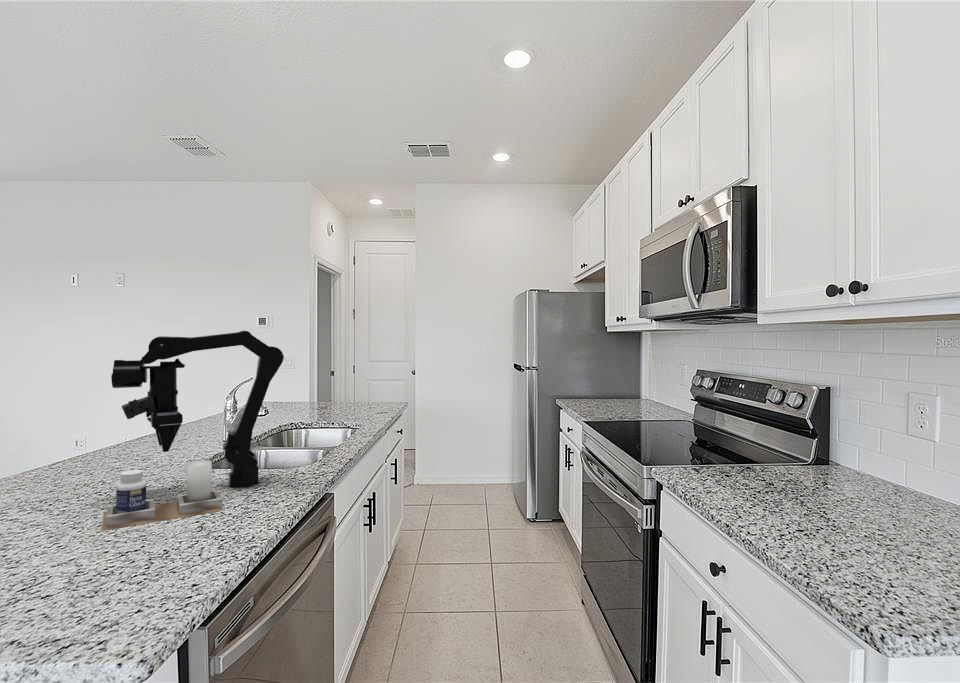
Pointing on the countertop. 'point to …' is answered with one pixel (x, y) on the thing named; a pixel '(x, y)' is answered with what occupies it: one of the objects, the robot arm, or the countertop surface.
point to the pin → (199, 481)
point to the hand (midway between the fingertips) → (163, 448)
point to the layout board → (161, 511)
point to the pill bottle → (131, 492)
